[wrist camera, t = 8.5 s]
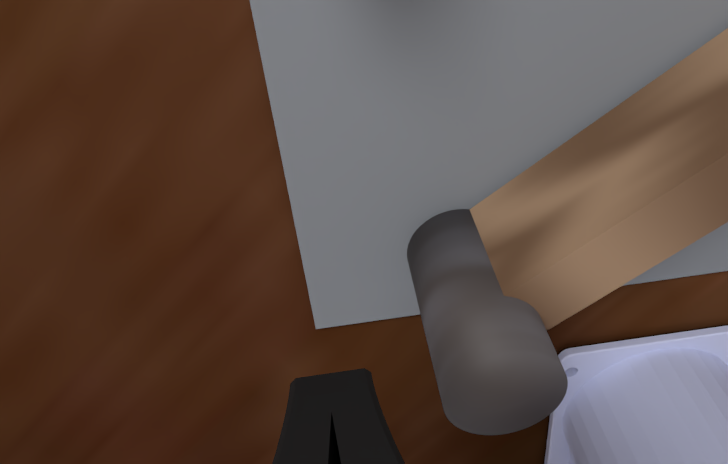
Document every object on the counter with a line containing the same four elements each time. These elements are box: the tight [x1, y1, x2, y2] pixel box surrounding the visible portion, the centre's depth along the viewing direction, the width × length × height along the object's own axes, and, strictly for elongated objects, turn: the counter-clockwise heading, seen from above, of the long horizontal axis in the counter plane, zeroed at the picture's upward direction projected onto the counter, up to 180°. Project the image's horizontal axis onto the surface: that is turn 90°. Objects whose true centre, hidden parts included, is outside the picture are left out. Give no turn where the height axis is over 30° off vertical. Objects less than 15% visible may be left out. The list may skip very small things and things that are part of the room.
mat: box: [250, 0, 728, 329], centre depth 18 cm, size 20×18×1 cm
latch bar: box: [407, 28, 728, 435], centre depth 17 cm, size 17×3×6 cm, turn 130°
